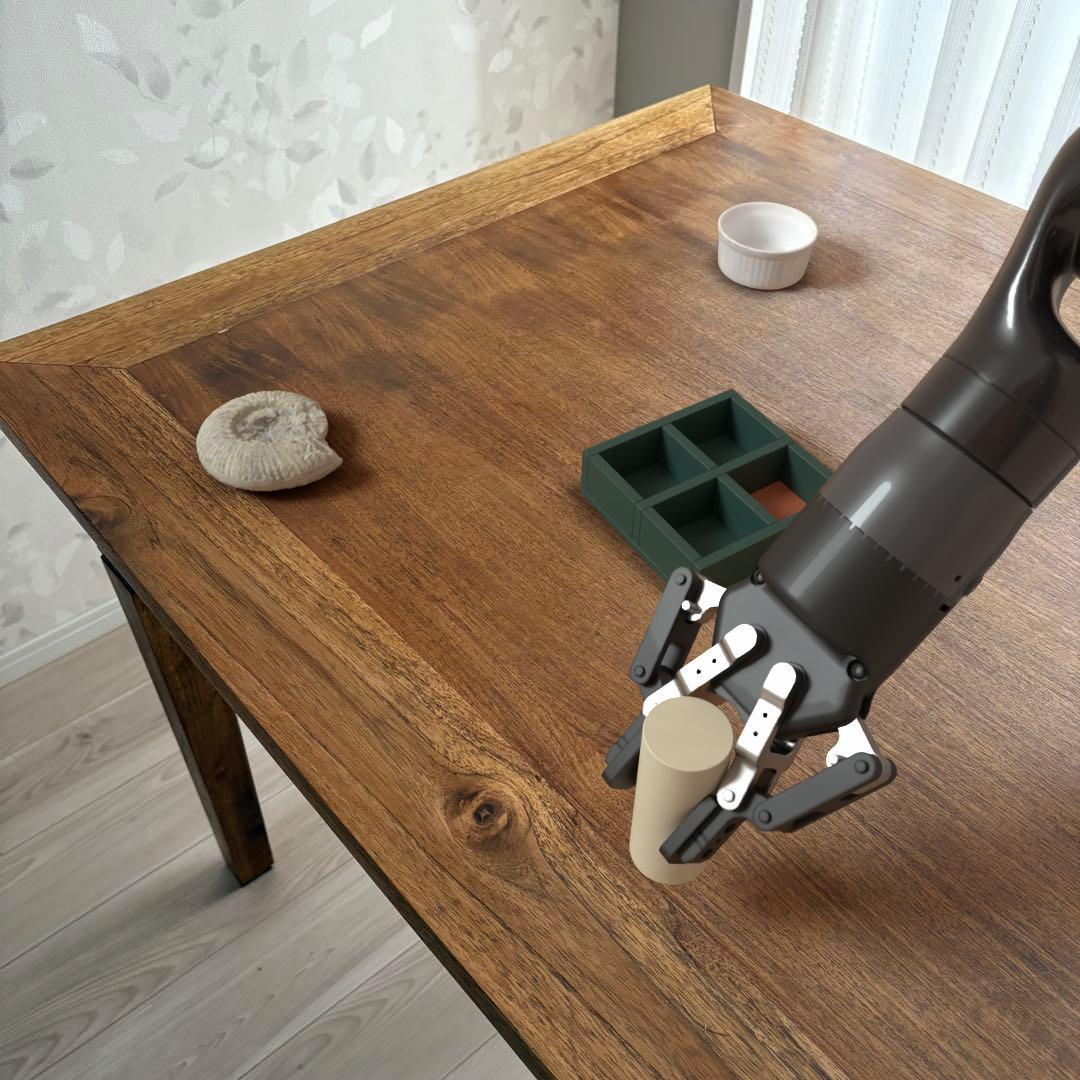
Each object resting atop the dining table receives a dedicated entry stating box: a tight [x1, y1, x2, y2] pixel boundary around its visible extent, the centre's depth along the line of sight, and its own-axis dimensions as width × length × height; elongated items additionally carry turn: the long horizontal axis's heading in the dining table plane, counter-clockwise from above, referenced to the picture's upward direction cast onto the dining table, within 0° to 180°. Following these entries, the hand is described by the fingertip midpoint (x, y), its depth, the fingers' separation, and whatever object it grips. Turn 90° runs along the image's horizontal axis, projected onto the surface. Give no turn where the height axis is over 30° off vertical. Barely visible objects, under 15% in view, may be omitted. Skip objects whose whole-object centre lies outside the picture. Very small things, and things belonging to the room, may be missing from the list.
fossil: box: [195, 390, 344, 492], centre depth 82 cm, size 11×4×10 cm
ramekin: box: [717, 201, 820, 291], centre depth 100 cm, size 9×9×4 cm
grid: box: [580, 388, 834, 589], centre depth 77 cm, size 13×13×4 cm
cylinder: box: [628, 696, 735, 886], centre depth 52 cm, size 4×4×10 cm
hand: (644, 819), depth 52 cm, fingers closed on cylinder, 4 cm apart
